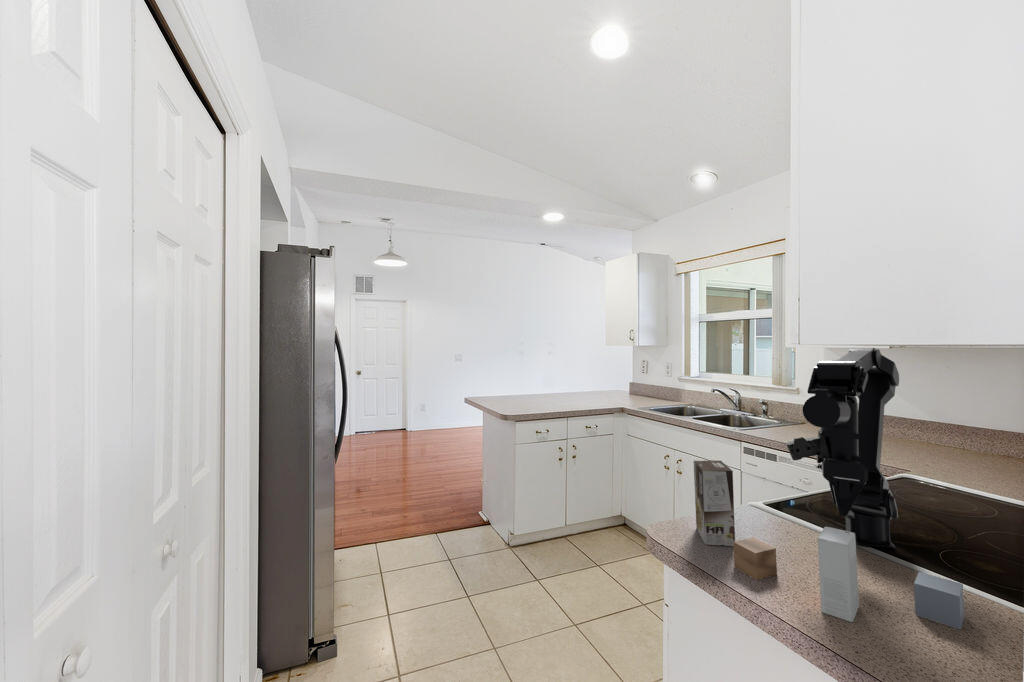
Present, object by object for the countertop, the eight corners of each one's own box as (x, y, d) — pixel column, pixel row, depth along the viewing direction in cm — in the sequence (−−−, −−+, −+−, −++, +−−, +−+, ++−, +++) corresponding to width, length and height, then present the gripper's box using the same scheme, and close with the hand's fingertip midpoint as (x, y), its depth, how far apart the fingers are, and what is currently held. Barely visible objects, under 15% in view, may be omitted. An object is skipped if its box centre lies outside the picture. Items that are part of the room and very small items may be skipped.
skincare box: (827, 596, 74) (824, 525, 74) (859, 606, 70) (856, 532, 71) (819, 612, 69) (816, 537, 69) (853, 624, 66) (850, 545, 66)
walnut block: (754, 562, 86) (753, 537, 86) (776, 575, 81) (775, 548, 81) (734, 567, 84) (733, 541, 84) (756, 580, 79) (755, 553, 79)
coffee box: (736, 547, 92) (733, 470, 92) (704, 545, 93) (701, 470, 94) (724, 529, 101) (722, 459, 101) (695, 527, 102) (692, 459, 103)
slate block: (920, 602, 71) (919, 571, 71) (964, 616, 67) (962, 583, 67) (915, 615, 68) (913, 583, 68) (961, 630, 64) (959, 596, 64)
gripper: (788, 419, 95) (788, 492, 94) (789, 424, 79) (789, 512, 78) (852, 424, 89) (853, 502, 88) (867, 431, 73) (869, 526, 72)
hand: (839, 509), depth 82 cm, fingers open, 9 cm apart
